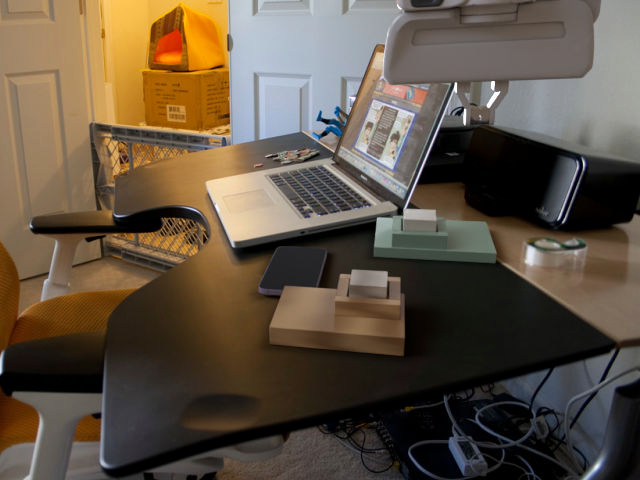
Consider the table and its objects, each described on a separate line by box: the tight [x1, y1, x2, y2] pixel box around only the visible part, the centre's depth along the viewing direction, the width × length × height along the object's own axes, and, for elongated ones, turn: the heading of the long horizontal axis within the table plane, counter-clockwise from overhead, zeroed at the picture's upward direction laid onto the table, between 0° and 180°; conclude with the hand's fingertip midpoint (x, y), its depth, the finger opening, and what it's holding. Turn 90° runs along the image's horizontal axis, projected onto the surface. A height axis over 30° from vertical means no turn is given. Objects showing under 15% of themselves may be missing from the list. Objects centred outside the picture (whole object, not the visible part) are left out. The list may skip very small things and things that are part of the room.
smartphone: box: [258, 245, 328, 297], centre depth 84 cm, size 7×1×15 cm
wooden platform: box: [268, 273, 406, 357], centre depth 71 cm, size 14×10×4 cm
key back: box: [402, 208, 438, 232], centre depth 89 cm, size 4×4×2 cm
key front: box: [349, 269, 389, 299], centre depth 71 cm, size 4×4×2 cm
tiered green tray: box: [373, 215, 498, 264], centre depth 91 cm, size 16×12×4 cm
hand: (478, 124), depth 68 cm, fingers closed
